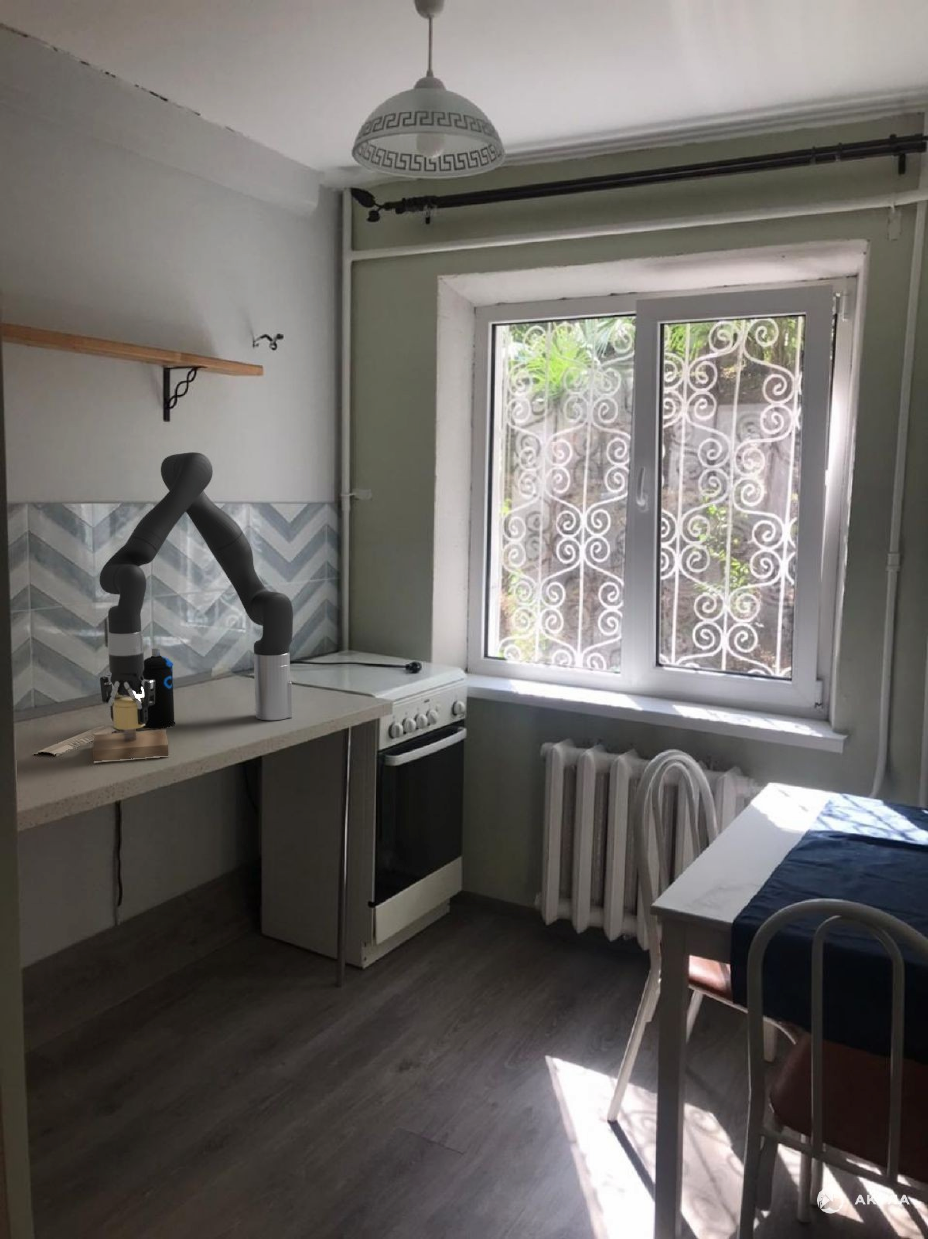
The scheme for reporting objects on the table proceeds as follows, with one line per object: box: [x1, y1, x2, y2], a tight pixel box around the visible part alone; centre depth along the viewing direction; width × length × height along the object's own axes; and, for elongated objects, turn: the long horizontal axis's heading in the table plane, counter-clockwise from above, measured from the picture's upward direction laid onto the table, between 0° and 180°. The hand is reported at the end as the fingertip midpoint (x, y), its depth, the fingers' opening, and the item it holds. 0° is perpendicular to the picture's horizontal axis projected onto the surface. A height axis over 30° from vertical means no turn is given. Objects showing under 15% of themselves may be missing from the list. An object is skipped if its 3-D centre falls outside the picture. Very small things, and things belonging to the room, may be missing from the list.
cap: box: [112, 696, 145, 730], centre depth 228 cm, size 6×6×6 cm
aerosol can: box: [142, 647, 177, 730], centre depth 253 cm, size 8×8×20 cm
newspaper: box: [34, 725, 117, 756], centre depth 237 cm, size 24×7×2 cm, turn 166°
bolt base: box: [92, 728, 169, 761], centre depth 229 cm, size 16×14×11 cm
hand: (129, 722), depth 229 cm, fingers closed on cap, 6 cm apart
